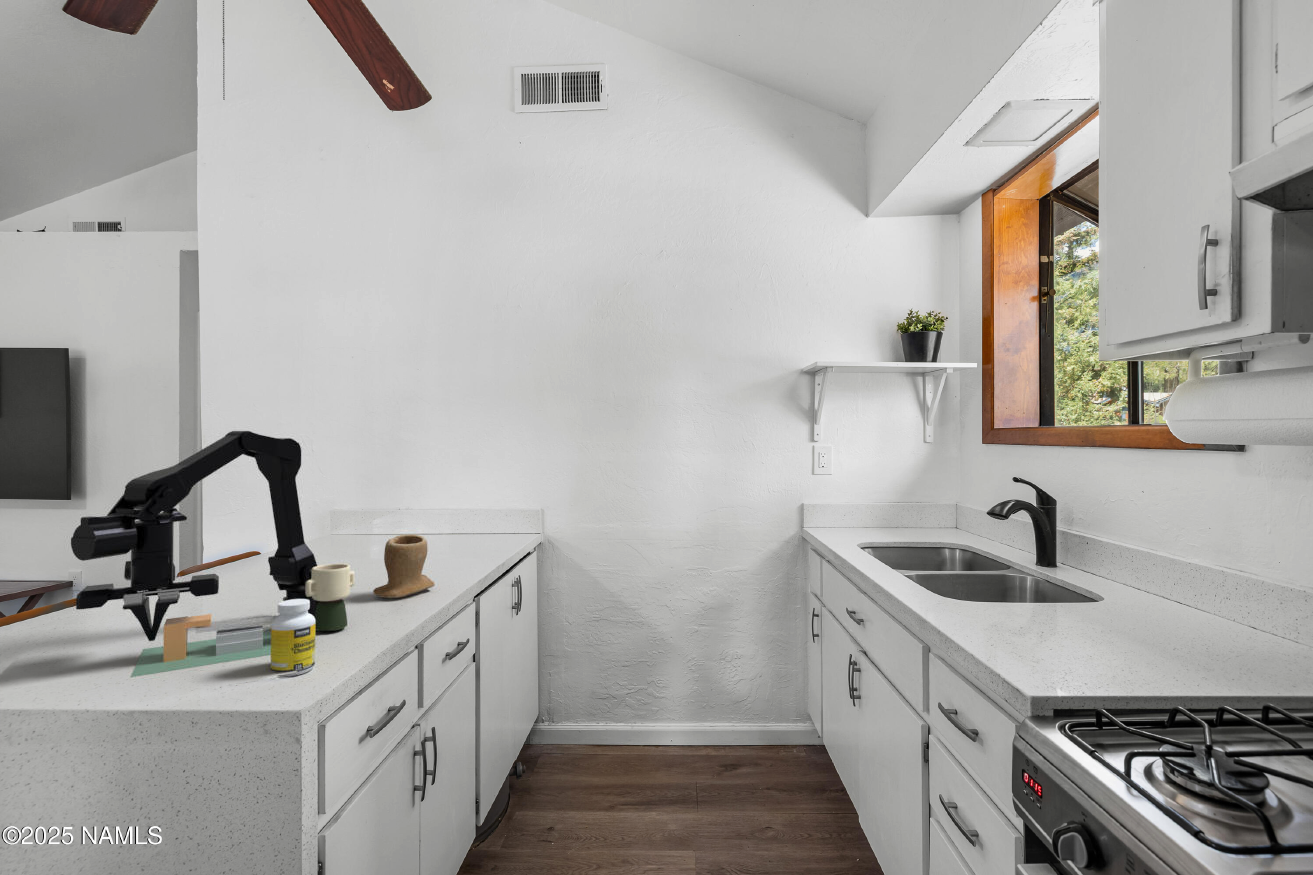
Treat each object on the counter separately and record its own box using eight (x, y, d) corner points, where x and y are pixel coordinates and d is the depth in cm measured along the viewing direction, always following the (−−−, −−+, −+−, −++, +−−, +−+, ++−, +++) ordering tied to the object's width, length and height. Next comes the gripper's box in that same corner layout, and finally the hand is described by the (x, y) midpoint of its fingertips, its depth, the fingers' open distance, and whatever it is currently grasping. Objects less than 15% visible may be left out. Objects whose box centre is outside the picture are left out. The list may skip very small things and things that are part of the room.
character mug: (342, 621, 134) (342, 560, 134) (365, 625, 131) (365, 563, 131) (293, 635, 124) (294, 570, 125) (317, 640, 121) (318, 573, 121)
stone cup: (400, 603, 149) (400, 541, 149) (366, 598, 154) (366, 537, 154) (447, 590, 162) (447, 532, 162) (414, 585, 168) (414, 529, 168)
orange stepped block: (211, 647, 114) (211, 613, 114) (210, 655, 110) (210, 619, 110) (166, 653, 110) (166, 618, 110) (163, 662, 106) (163, 625, 106)
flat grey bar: (284, 619, 120) (284, 613, 120) (285, 624, 117) (285, 618, 117) (196, 629, 112) (196, 622, 112) (195, 634, 109) (195, 627, 109)
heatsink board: (290, 633, 126) (290, 600, 126) (296, 656, 112) (296, 620, 112) (143, 654, 113) (143, 618, 113) (130, 683, 100) (131, 642, 100)
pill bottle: (283, 681, 101) (283, 609, 101) (262, 673, 104) (263, 603, 104) (323, 668, 106) (323, 600, 106) (302, 661, 110) (302, 595, 110)
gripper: (219, 538, 119) (219, 620, 119) (89, 548, 109) (89, 637, 109) (218, 547, 110) (217, 635, 110) (75, 558, 100) (75, 656, 100)
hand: (152, 640), depth 107 cm, fingers closed
